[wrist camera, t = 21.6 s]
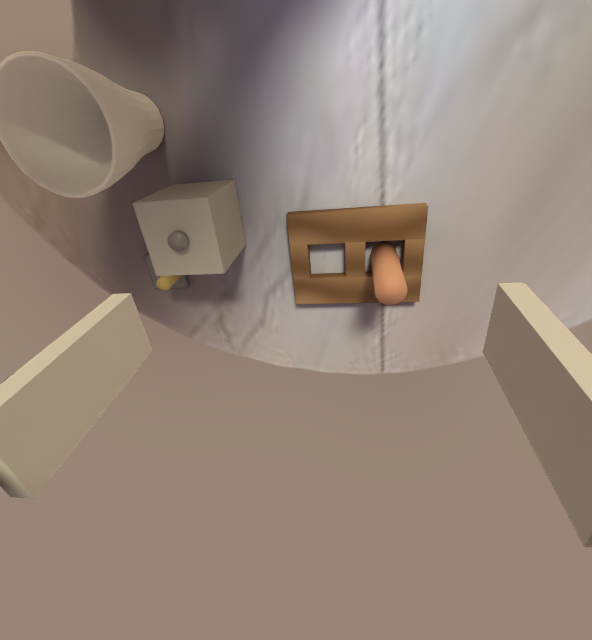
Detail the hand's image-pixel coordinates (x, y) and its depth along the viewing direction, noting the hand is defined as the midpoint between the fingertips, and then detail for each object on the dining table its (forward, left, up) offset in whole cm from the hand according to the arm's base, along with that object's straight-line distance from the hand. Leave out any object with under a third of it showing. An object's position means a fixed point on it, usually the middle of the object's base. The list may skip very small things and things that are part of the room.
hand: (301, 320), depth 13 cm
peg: (+10, +6, -32) cm, 34 cm away
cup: (-7, -22, -32) cm, 39 cm away
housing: (+4, -16, -32) cm, 36 cm away
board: (+10, +2, -32) cm, 33 cm away
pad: (+11, -24, -32) cm, 41 cm away
